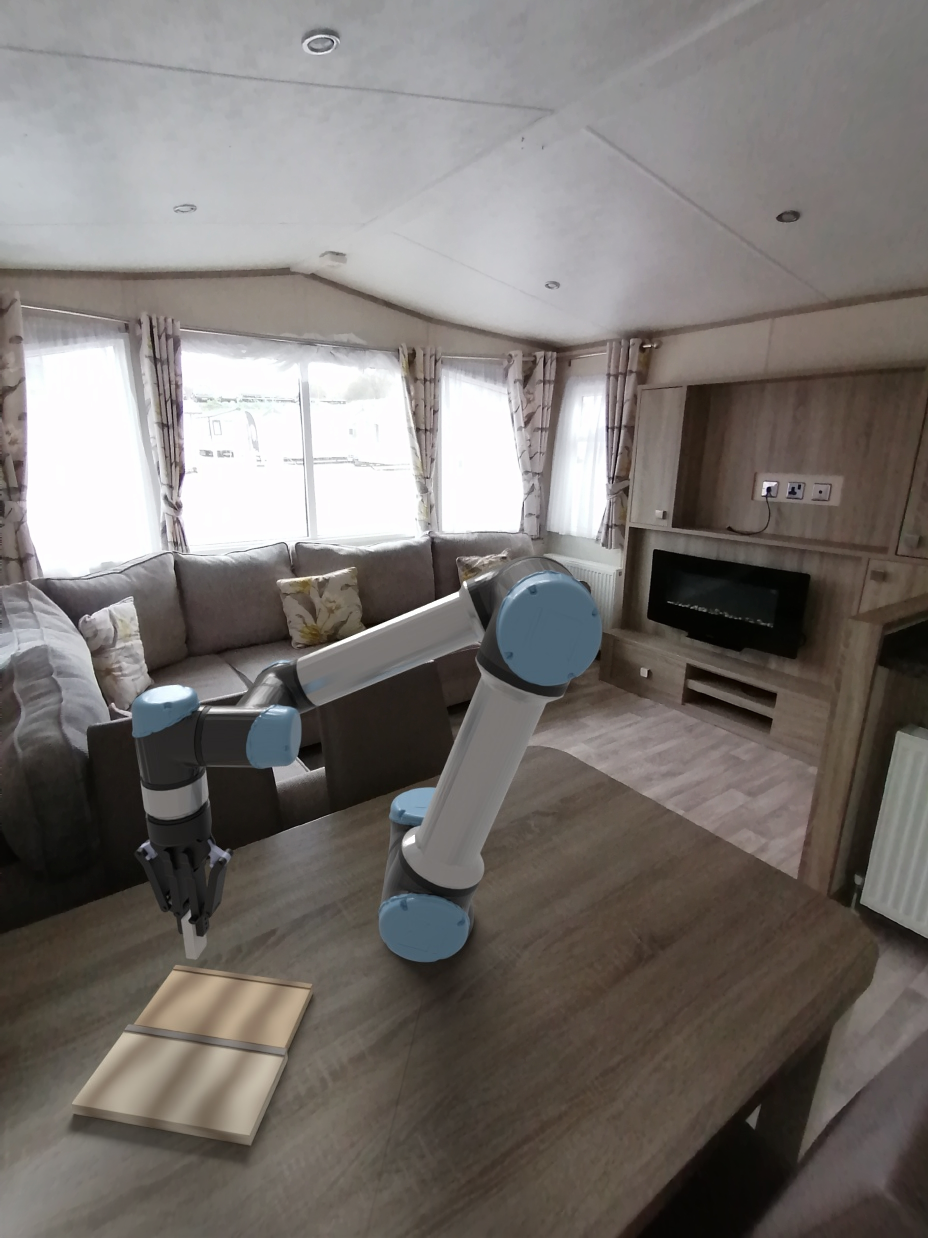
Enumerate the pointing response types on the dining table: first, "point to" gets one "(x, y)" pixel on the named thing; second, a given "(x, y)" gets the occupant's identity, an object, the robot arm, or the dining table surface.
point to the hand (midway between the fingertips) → (196, 951)
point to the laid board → (184, 1084)
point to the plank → (228, 1006)
